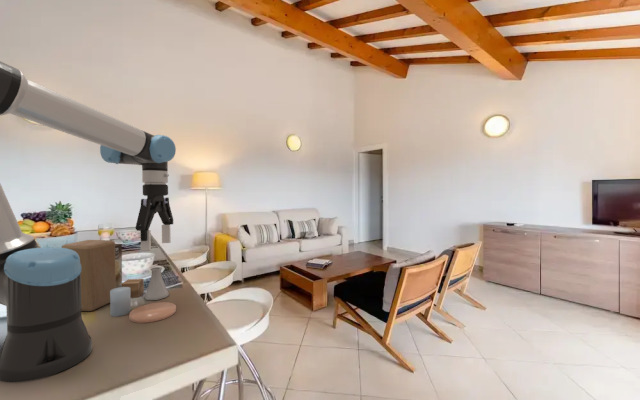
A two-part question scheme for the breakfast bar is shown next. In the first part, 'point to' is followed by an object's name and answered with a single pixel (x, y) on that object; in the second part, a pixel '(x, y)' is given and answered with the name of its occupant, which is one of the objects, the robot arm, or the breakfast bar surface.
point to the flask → (156, 286)
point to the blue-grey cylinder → (120, 301)
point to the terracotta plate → (152, 312)
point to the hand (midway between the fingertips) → (156, 246)
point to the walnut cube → (135, 287)
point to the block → (95, 271)
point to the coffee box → (118, 264)
